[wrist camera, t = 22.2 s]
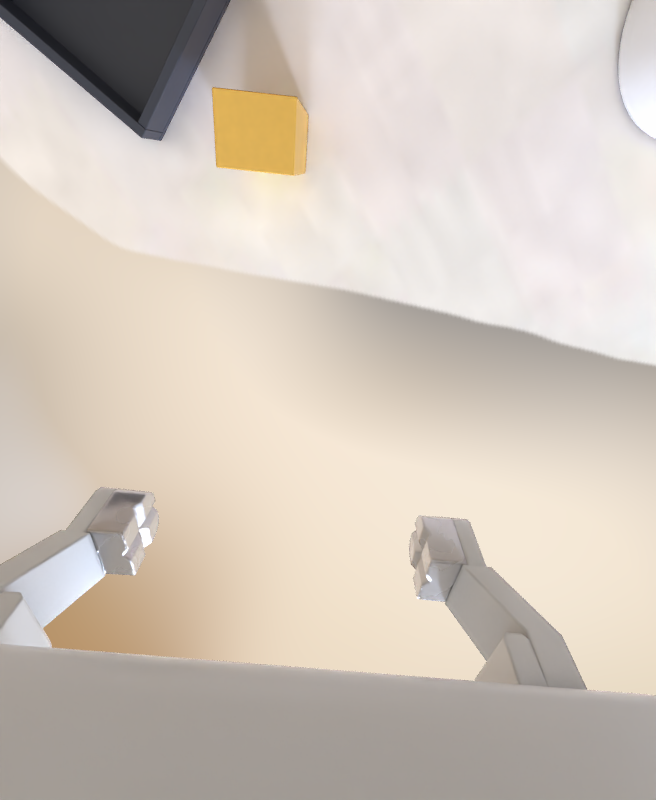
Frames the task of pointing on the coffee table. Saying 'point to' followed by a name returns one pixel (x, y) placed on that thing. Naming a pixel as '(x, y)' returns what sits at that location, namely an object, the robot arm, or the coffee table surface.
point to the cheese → (259, 132)
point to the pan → (123, 50)
